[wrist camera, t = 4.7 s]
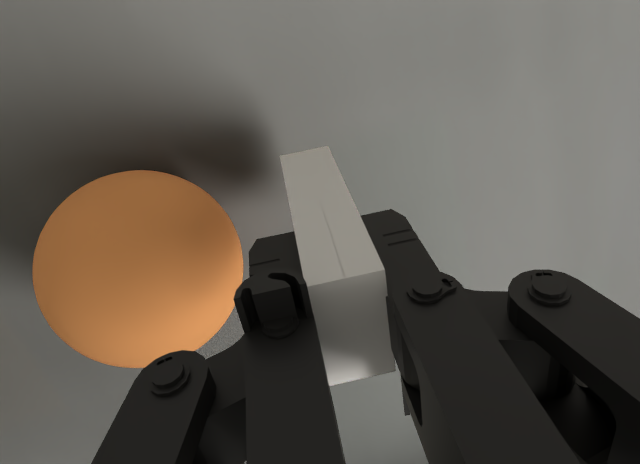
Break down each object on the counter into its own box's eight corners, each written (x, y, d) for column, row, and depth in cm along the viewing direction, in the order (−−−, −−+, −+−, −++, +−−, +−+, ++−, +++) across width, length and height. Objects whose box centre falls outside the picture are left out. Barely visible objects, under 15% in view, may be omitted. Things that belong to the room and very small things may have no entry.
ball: (213, 123, 16) (198, 201, 10) (262, 267, 19) (268, 382, 14) (38, 167, 16) (-64, 267, 10) (115, 304, 19) (66, 434, 13)
